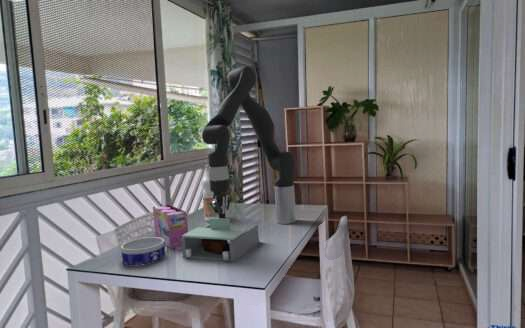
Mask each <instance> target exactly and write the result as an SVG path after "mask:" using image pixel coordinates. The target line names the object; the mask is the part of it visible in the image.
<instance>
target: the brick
mask: <svg viewBox="0 0 525 328" xmlns="http://www.w3.org/2000/svg"><path fill="white" fill-rule="evenodd" d="M202 242H203V243H202V244H203V245H202V246H203V248H204V251H208V252H213V253H217V254H222V255H223V252H224V251H228V252H230V246H229V240H223V239H202Z"/></svg>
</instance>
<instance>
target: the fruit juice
mask: <svg viewBox="0 0 525 328" xmlns="http://www.w3.org/2000/svg"><path fill="white" fill-rule="evenodd" d="M204 169H205V173H204V176H203V178H202V180H201V186H202V189H203V190H202V202H203V203H202V204H203V215H204V220H205V222H210V218H219V214H218V213H215V212H214V210H213V208H212V206H211V205H210V202H213V200H214V199H213V195H214V193H213V192H212V191H210V181H209V164H206V165H204Z"/></svg>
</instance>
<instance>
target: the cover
mask: <svg viewBox="0 0 525 328" xmlns="http://www.w3.org/2000/svg"><path fill="white" fill-rule="evenodd" d="M209 224H210V228H202V227H198V226H197V227H195V228H194V229H192V230H189V231H188V233H186V234H184V235H182V237H186V238H204V239H223V240H227V241H230V240H235V239H236V238H238V237H239V236H241V235H242V234H243V233H245V232H246V230H247V229H243V228H241V229H240V228H232V227H231V219H230V218H228V217H226V218H210V221H209Z"/></svg>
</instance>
